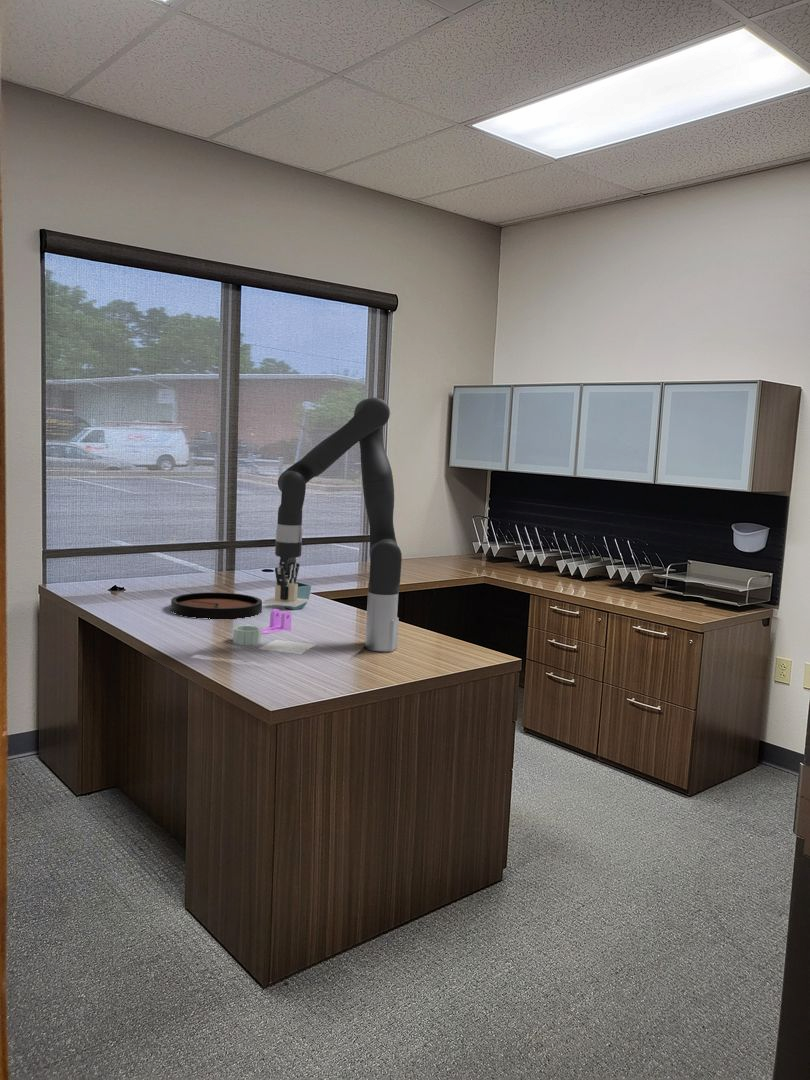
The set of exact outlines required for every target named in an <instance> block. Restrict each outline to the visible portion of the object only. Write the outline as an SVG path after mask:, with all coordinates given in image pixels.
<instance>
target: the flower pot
mask: <svg viewBox="0 0 810 1080" xmlns="http://www.w3.org/2000/svg"><path fill="white" fill-rule="evenodd" d="M295 584H298V592H297V598H300V599H308V600H309V599H310V595H311V590H312V585H311V584H306V583H303V582H299V581H296V582H295ZM307 604H308V602H306V603H303V604H301V605H299V606H296V607H292V606H283V607H284V608H285V609H289V610H292V609H294V610H301V609H300V608H303V609H304V608H305V606H306V605H307Z"/></svg>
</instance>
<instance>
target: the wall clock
mask: <svg viewBox="0 0 810 1080" xmlns="http://www.w3.org/2000/svg"><path fill="white" fill-rule="evenodd" d="M170 600H171V601H170V612H171V611H172V612H171V613H173V612H174V613H176V614H175V615H177V614H178V615H177V616H180V615H182V616H181V617H184V616H187V617H186V618H189V617H196V618H195V619H197V618H208V619H207V620H210V619H229V620H238V619H237V618H242V619H246V618H245V617H249V618H252V617H251V616H254V617H256V616H255V615H257V616H259V615H260V614H259V613H262V611H263V600H262V599H261V598H259V597H257V596H252V595H248V594H242V593H233V592H219V591H218V592H212V591H211V592H207V591H206V592H193V593H192V592H191V593H185V594H179V595H177V596H174V597H172V598H171V599H170ZM174 613H173V614H174ZM258 614H259V615H258ZM209 618H210V619H209Z"/></svg>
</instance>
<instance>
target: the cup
mask: <svg viewBox="0 0 810 1080" xmlns="http://www.w3.org/2000/svg"><path fill="white" fill-rule="evenodd" d="M261 629H262V628H261V627H259V626H257V625H237V626H234V627H233V631H232V632H233V633H232V635H233V636H232V642H233V644H236V645H241V646H253V645H259V644H261V642H262V634H261Z"/></svg>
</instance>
